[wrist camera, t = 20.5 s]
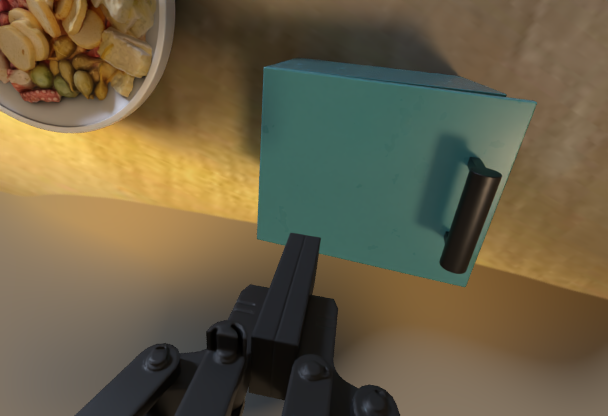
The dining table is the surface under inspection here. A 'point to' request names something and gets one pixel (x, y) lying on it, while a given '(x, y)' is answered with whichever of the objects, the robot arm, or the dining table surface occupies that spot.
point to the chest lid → (385, 169)
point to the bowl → (81, 59)
